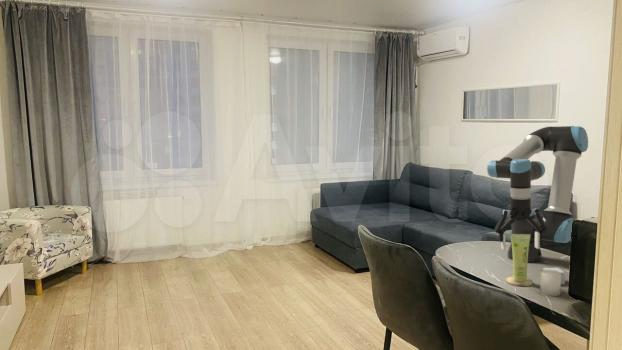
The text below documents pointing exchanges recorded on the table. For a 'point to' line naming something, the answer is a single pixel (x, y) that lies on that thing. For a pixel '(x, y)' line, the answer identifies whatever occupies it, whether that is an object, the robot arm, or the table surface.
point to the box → (558, 271)
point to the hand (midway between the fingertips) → (520, 248)
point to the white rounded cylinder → (550, 282)
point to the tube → (520, 256)
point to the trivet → (511, 280)
